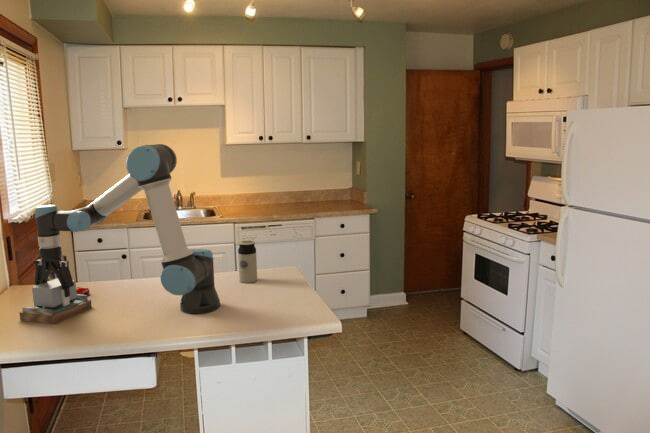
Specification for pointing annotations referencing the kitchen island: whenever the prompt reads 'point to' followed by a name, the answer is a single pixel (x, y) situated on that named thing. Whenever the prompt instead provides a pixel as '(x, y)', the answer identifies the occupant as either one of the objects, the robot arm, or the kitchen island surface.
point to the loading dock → (55, 311)
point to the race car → (82, 290)
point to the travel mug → (247, 261)
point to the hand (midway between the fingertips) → (56, 303)
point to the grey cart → (51, 294)
